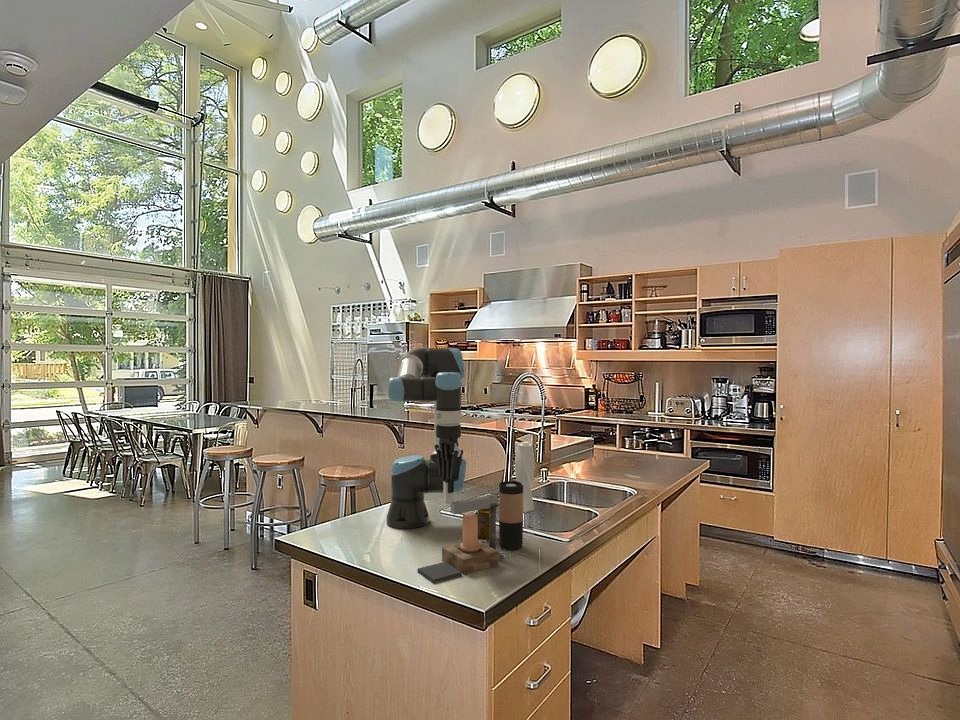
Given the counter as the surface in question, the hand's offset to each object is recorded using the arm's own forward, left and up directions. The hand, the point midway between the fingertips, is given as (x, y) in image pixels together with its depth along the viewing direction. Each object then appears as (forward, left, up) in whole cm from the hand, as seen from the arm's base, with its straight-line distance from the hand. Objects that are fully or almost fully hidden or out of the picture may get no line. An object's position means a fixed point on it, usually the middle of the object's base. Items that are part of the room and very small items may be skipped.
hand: (448, 502), depth 171 cm
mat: (+9, -8, -17) cm, 21 cm away
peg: (+7, +3, -17) cm, 18 cm away
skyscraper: (-25, +49, -17) cm, 57 cm away
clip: (+7, +5, -1) cm, 9 cm away
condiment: (-9, +19, -17) cm, 27 cm away
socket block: (+7, +5, -17) cm, 19 cm away
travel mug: (+3, +21, -17) cm, 27 cm away
